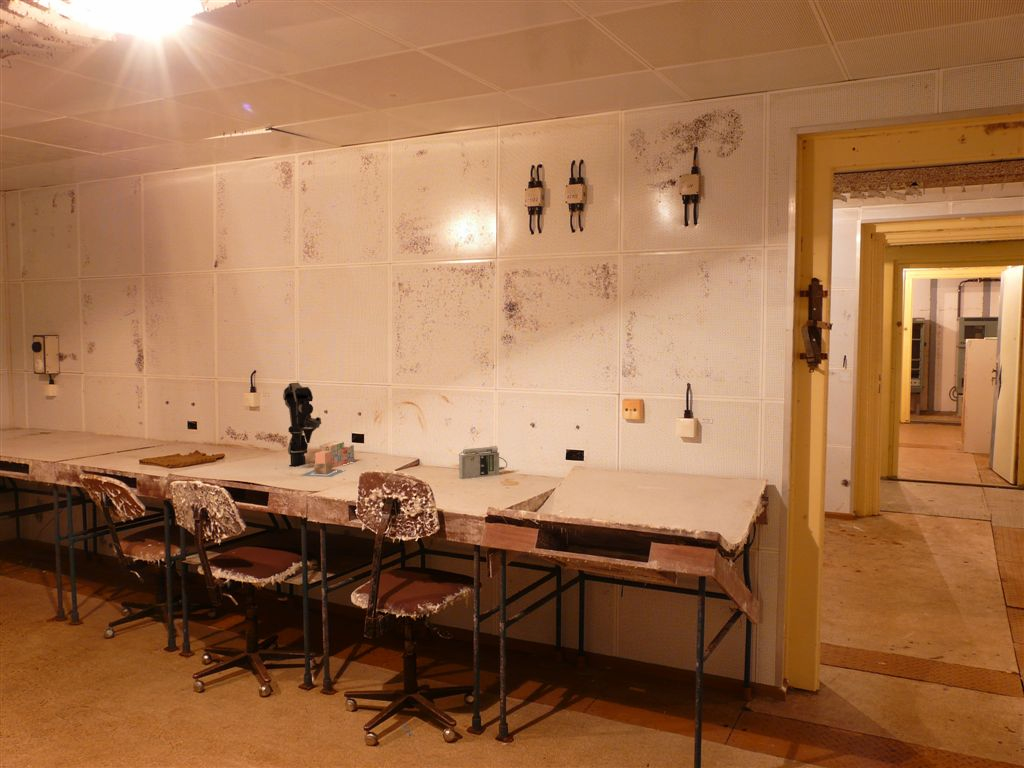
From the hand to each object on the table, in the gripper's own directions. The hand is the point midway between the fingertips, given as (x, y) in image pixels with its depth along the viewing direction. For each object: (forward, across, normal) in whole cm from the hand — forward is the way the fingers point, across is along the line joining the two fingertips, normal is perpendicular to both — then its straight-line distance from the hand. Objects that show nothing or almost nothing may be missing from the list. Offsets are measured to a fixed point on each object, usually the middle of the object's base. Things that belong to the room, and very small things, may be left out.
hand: (303, 444), depth 387 cm
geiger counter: (+13, +6, -89) cm, 91 cm away
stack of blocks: (+13, +16, -10) cm, 23 cm away
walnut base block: (+12, -6, -13) cm, 19 cm away
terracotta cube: (+7, -6, -13) cm, 16 cm away
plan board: (+13, -6, -13) cm, 19 cm away
